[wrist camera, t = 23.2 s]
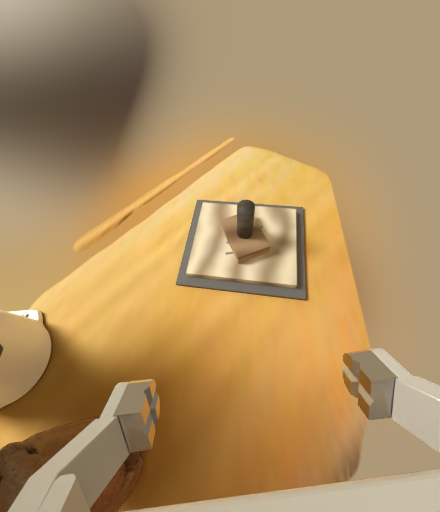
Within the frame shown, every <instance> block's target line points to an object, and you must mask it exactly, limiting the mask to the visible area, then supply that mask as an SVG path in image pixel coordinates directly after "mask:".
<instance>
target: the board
mask: <svg viewBox="0 0 440 512" xmlns="http://www.w3.org/2000/svg"><path fill="white" fill-rule="evenodd" d="M234 215H237V205H233V204H219V203H206V202H203V204H202V208H201V212H200V216H199V221H198V225H197V229H196V233H195V237H194V242H193V246H192V250H191V254H190V258H189V263H188V267H187V271H186V274H187V276H191V277H199V278H208V279H217V280H226V281H235V282H244V283H253V284H261V285H270V286H279V287H288V288H296V286H297V253H296V209H289V208H275V207H261V206H255V213H254V217H255V219H256V221H257V223H258V225H259V226H260V228H261V230H262V232H263V233H264V235H265V237H266V239H267V240H268V242H269V244H270V246H271V247H270V251H269V253H266V254H263V255H260V256H257V257H255V258H252V259H249V260H246V261H243V262H241V263H238V262H237V260H236V258H235V256H234V254H233V251H232V249H231V247H230V245H229V243H228V241H227V238H226V236H225V234H224V232H223V230H222V228H221V220H222V219H225V218H228V217H231V216H234Z"/></svg>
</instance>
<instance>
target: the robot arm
mask: <svg viewBox="0 0 440 512" xmlns="http://www.w3.org/2000/svg"><path fill="white" fill-rule="evenodd" d="M28 316H29V317H28ZM50 354H51V339H50V335H49V333H48V331H47V330H46V328H45V327H44V325H43V317H42V313H41V311H38V310H25V311H10V312H6V311H2V310H0V409H1V408H2V407H4V406H6V405H8V404H10V403H12V402H14V401H16V400H18V399H19V398H21V397H22V396H23V395H25V394H26V393H27V392H28V391H29V390H30V389H31V388H32V387H33V386H34V385H35V384H36V383H37V381H38V380H39V379H40V377H41V376H42V374H43V372H44V371H45V369H46V366H47V364H48V361H49V358H50ZM343 362H344V363H345V365H346V366H345V368H344V369H343V379H344V383H345V385H346V387H347V389H348V391H349V392H350V394H351V395H353V396H354V397H356V398H358V405H359V407H360V408H361V410H362V411H363V413H364V414H365V415H366V417H367V418H368V420H375V419H384V418H392V420H394V421H395V422H396V423H398V424H399V425H401V426H402V427H403V428H405V429H406V430H408V431H409V432H411V433H412V434H413V435H415V436H416V437H418V438H419V439H420V440H422V441H423V442H425V443H426V444H427V445H429V446H430V447H432V448H433V449H434V450H436V451H437V452H439V453H440V386H439V385H436V384H434V383H432V382H430V381H427V380H425V379H423V378H420V377H418V376H414V377H413V376H412V375H411V374H410V373H409V372H408V371H406V370H405V369H404V368H403V367H402V366H401V365H400V364H399V363H398V362H397V361H396V360H394V359H393V358H392V357H391V356H390V355H389V354H388V353H387V352H386V351H385V350H383V349H381V348H377V349H369V350H364V351H357V352H350V353H344V355H343ZM155 390H156V383H155V380H154V379H147V380H137V381H130V382H121V383H118V384H117V385H116V386H115V388H114V390H113V392H112V394H111V396H110V398H109V400H108V402H107V404H106V406H105V408H104V410H103V412H102V414H101V416H100V418H99V419H95V420H94V421H93V422H92V423H91V424H89V425H88V426H87V427H86V428H85V429H84V430H83V431H82V432H80V433H79V434H78V435H77V436H76V437H75V438H74V439H73V440H71V441H70V442H69V443H68V444H67V445H66V446H65V447H64V448H62V449H61V450H60V451H59V452H58V453H57V454H56V455H55V456H53V457H52V458H51V459H50V460H49V461H48V462H47V463H46V464H44V465H43V466H42V467H41V468H40V469H39V470H38V471H37V472H35V473H34V474H33V475H32V476H31V477H30V478H29V479H28V481H27V482H26V484H25V485H24V487H23V488H22V490H21V492H20V493H19V495H18V496H17V498H16V499H15V501H14V503H13V504H12V506H11V507H10V509H9V510H8V512H91V511H90V508H91V507H92V505H93V504H94V502H95V501H96V500H97V498H98V497H99V496H100V494H101V493H102V491H103V490H104V489H105V487H106V486H107V485H108V483H109V482H110V480H111V479H112V478H113V476H114V475H115V474H116V472H117V471H118V469H119V468H120V467H121V465H122V464H123V462H124V461H125V460H126V458H127V457H128V456H129V453H132V452H138V451H144V450H150V449H152V445H153V441H154V437H155V432H156V430H155V427H154V425H155V424H156V422H157V421H158V419H159V415H160V398H159V394H157V393H156V392H155ZM122 512H440V469H434V470H426V471H419V472H411V473H404V474H396V475H389V476H382V477H374V478H367V479H360V480H352V481H345V482H338V483H330V484H323V485H316V486H308V487H301V488H294V489H286V490H278V491H271V492H263V493H256V494H248V495H241V496H233V497H226V498H218V499H211V500H203V501H196V502H189V503H181V504H174V505H166V506H159V507H151V508H144V509H136V510H129V511H122Z"/></svg>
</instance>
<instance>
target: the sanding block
mask: <svg viewBox="0 0 440 512" xmlns="http://www.w3.org/2000/svg"><path fill="white" fill-rule="evenodd" d="M254 213H255V204H254V203H253V202H252V201H250V200H242V201H240V202H239V203H238V205H237V215H234V216H231V217H228V218H225V219H222V220H221V228H222V230H223V232H224V234H225V236H226V238H227V241H228V243H229V245H230V247H231V249H232V251H233V254H234V256H235V258H236V260H237V262H238V263H241V262H243V261H246V260H249V259H252V258H255V257H257V256H260V255H263V254H266V253H269V251H270V247H271V246H270V244H269V242H268V240H267V239H266V237H265V235H264V233H263V232H262V230H261V228H260V226H259V225H258V223H257V221H256V219H255V217H254Z"/></svg>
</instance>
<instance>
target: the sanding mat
mask: <svg viewBox="0 0 440 512" xmlns="http://www.w3.org/2000/svg"><path fill="white" fill-rule="evenodd" d="M203 202H206V203H219V204H233V205H238V203H235V202H221V201H207V200H197V203H196V207H195V211H194V215H193V219H192V223H191V227H190V230H189V234H188V238H187V242H186V246H185V250H184V254H183V258H182V262H181V266H180V270H179V274H178V278H177V282H176V285H181V286H189V287H198V288H206V289H215V290H223V291H232V292H240V293H249V294H257V295H265V296H274V297H282V298H291V299H299V300H306V287H305V254H304V221H303V207H292V206H278V205H264V204H255V206H261V207H275V208H289V209H296V253H297V286H296V288H288V287H279V286H270V285H261V284H253V283H244V282H235V281H226V280H217V279H208V278H199V277H191V276H187V274H186V271H187V267H188V263H189V258H190V254H191V250H192V246H193V242H194V237H195V233H196V229H197V225H198V221H199V216H200V212H201V208H202V204H203Z"/></svg>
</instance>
